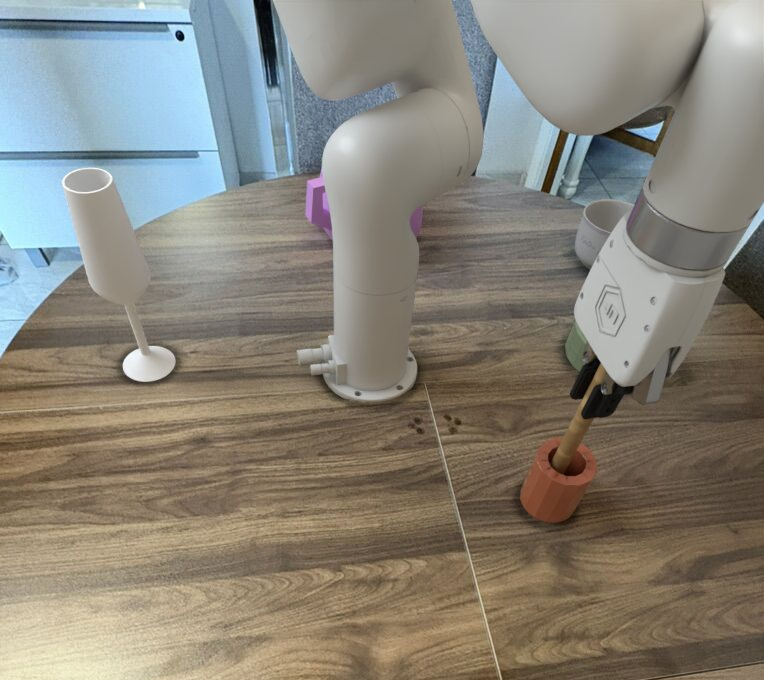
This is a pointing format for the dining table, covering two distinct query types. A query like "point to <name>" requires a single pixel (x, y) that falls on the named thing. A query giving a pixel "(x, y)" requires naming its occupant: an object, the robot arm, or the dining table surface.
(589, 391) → the stick
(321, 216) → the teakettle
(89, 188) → the champagne flute
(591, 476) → the holder
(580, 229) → the teacup
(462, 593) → the dining table surface
